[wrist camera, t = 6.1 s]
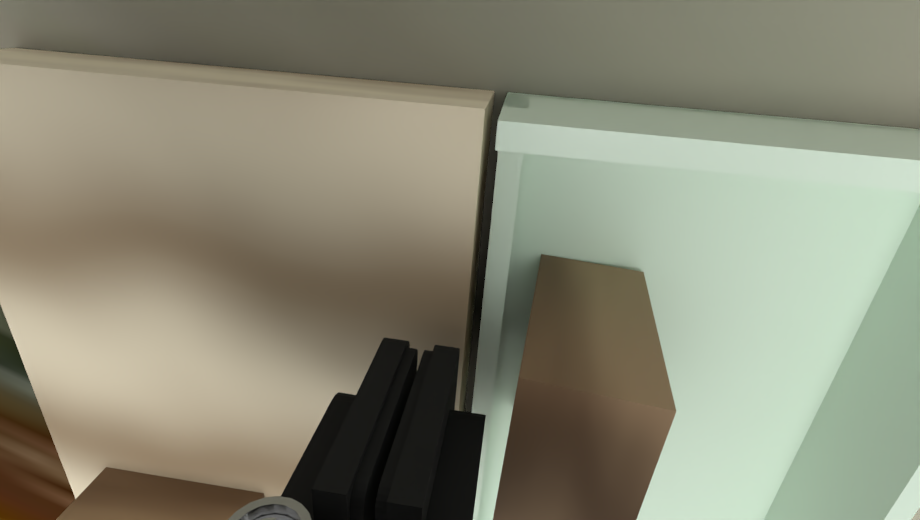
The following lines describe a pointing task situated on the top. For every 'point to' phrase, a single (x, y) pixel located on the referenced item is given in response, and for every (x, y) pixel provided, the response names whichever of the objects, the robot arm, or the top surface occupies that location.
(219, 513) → the walnut tile
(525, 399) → the walnut tile
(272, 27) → the top surface
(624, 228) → the tray
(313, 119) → the maple board
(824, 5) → the top surface
